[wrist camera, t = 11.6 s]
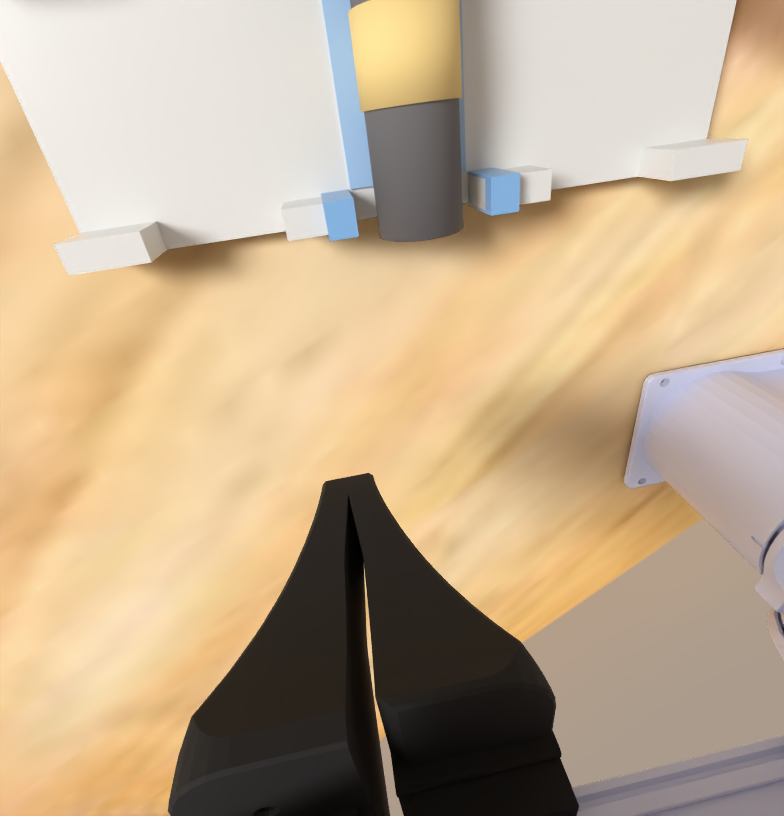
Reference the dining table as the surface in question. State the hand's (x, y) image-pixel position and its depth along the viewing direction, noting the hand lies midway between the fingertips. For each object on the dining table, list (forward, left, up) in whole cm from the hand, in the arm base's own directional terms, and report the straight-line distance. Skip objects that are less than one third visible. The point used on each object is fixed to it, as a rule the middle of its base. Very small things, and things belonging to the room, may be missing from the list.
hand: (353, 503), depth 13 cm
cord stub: (-4, -11, -9) cm, 14 cm away
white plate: (-4, -11, -10) cm, 15 cm away
